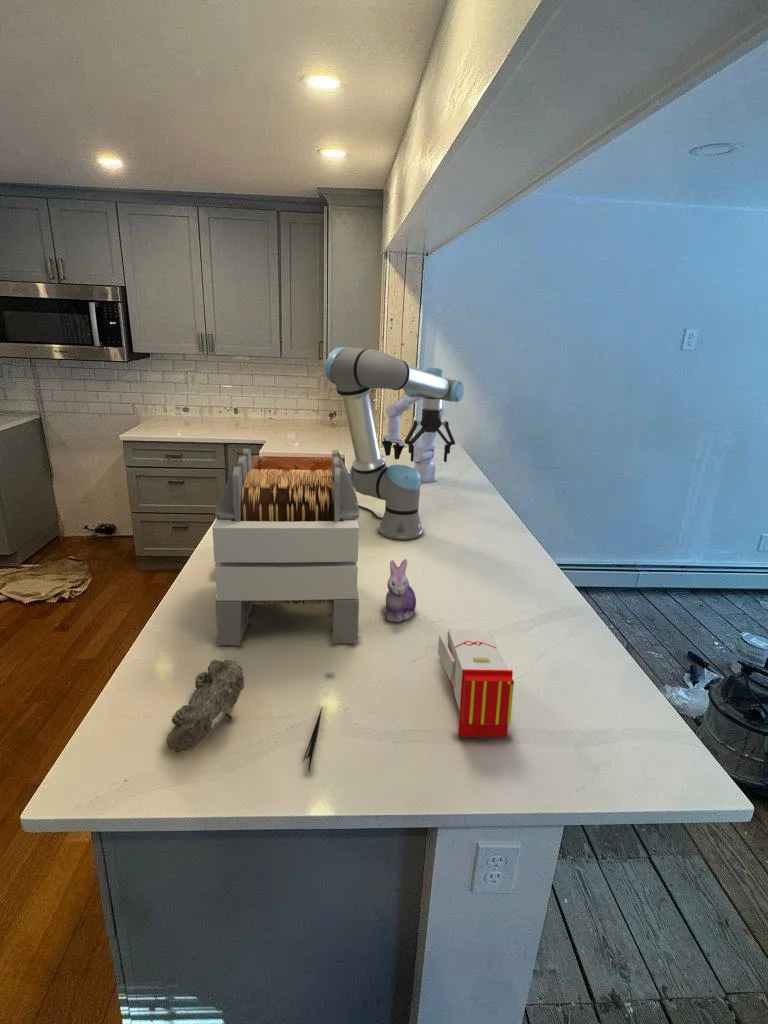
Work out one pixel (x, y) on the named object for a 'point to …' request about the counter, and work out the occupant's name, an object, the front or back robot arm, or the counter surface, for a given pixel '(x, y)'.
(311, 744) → the feather
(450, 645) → the toy
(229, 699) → the fossil
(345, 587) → the record crate
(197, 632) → the counter surface
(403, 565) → the figurine
